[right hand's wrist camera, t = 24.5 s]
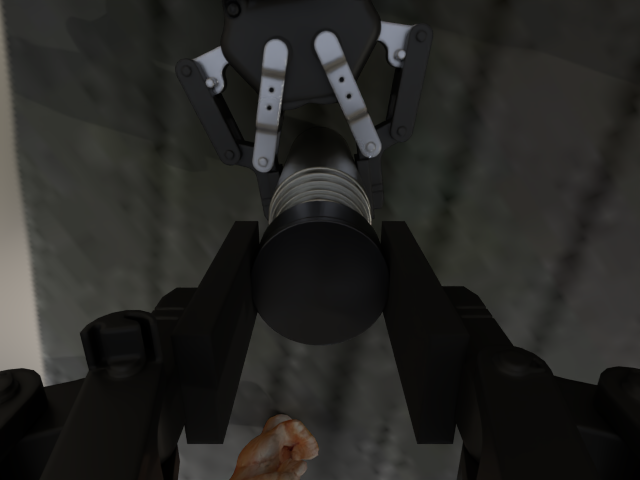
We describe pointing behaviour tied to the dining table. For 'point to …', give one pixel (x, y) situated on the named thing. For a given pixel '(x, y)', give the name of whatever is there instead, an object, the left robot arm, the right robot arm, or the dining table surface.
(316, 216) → the cap
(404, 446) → the dining table surface
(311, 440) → the orange-brown lumpy piece
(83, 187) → the dining table surface
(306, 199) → the bottle
